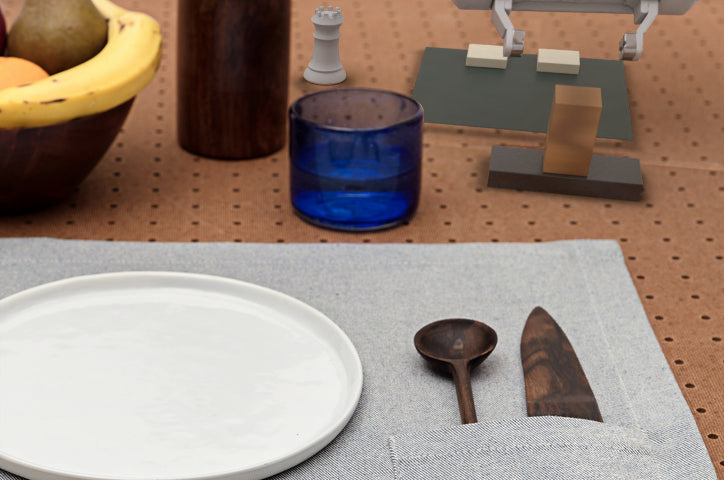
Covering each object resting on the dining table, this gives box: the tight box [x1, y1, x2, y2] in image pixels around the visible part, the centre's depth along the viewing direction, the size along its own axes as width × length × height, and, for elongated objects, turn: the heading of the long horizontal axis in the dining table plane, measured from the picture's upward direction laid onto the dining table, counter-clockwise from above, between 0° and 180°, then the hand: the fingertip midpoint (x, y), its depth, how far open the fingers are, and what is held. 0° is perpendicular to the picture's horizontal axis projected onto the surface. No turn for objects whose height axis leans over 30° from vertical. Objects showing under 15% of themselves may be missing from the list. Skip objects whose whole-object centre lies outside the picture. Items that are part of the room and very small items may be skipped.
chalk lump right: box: [537, 48, 580, 74], centre depth 109 cm, size 4×4×1 cm
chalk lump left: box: [466, 43, 508, 69], centre depth 110 cm, size 4×4×1 cm
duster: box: [486, 85, 644, 203], centre depth 88 cm, size 12×5×8 cm, turn 75°
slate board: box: [411, 46, 634, 142], centre depth 105 cm, size 20×20×1 cm
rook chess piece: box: [302, 5, 347, 86], centre depth 106 cm, size 4×4×8 cm
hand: (571, 56), depth 89 cm, fingers open, 8 cm apart
